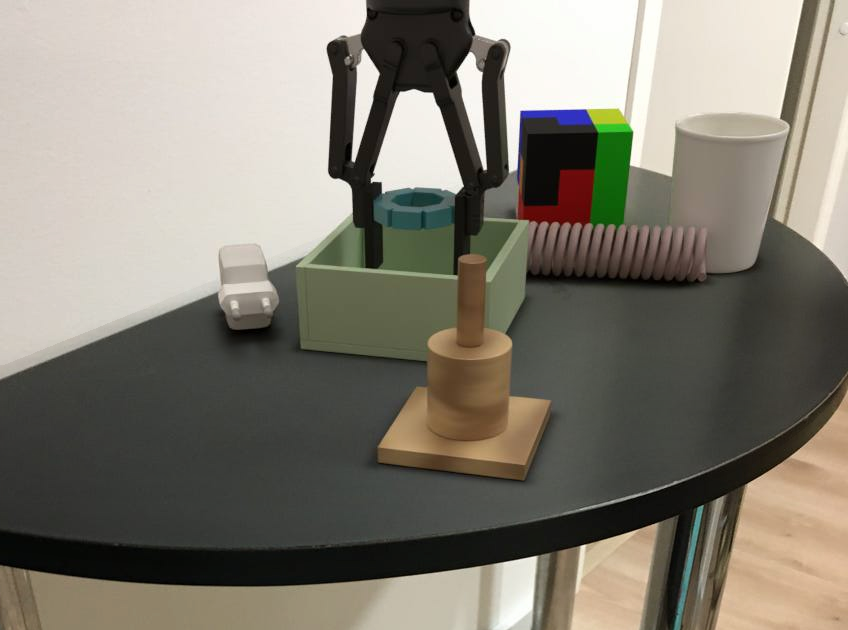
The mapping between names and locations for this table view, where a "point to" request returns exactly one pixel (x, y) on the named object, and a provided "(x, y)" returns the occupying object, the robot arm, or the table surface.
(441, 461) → the stand
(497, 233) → the bin
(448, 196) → the ring
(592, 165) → the puzzle toy
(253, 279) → the power adapter
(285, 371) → the table surface
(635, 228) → the coil
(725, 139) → the white cup
